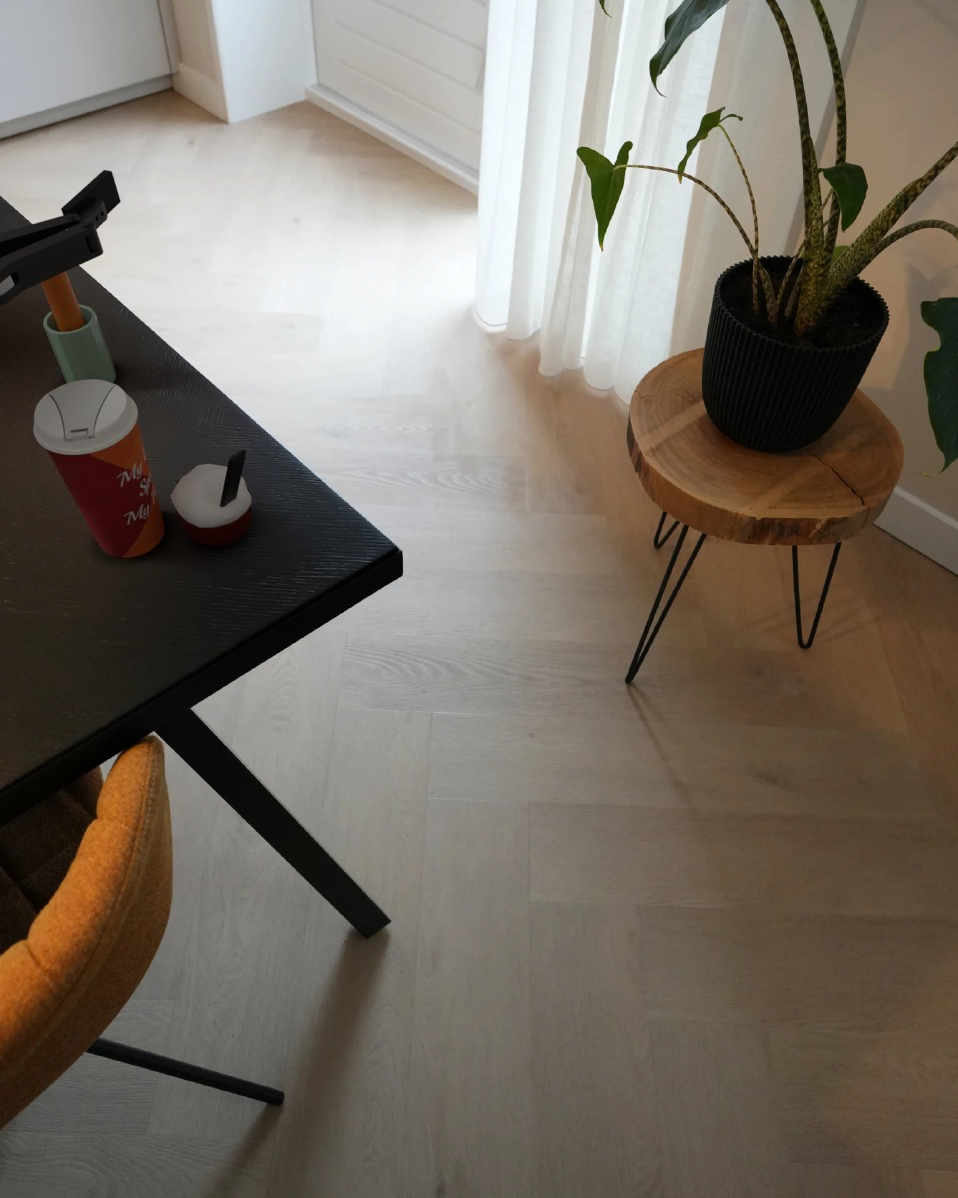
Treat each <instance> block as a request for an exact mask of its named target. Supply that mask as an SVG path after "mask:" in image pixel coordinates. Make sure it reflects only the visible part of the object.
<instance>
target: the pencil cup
mask: <svg viewBox="0 0 958 1198" xmlns="http://www.w3.org/2000/svg"><path fill="white" fill-rule="evenodd" d="M78 305H79V308H80V311H81V313H82V316H83V319H84V322H85V324H86V325H85V326H83V327H82V328H80V329H77V330H74V331H70V332H60V330H59V328H58V325H57V322H56V320H55V317H54V315H53V312H52V310H51V311H50V312H48V313H47V314H46V315H45V316H44V318H43V322H42V323H43V324H42V327H43V330H44V331H45V334H46V336H47V338H48V341H49V343H50V346H51V349H52V351H53V353H54V356H55V358H56V361H57V363H58V365H59V368H60V370H61V373H62V376H63V379H64V380H65V382H66V384H67V383H70V382H74V381H80V380H88V379H97V380H103V381H107V382H110V383H113V384H114V382H115V380H116V378H117V373H116V370H115V365H114V362H113V359H112V357H111V354H110V351H109V348H108V345H107V343H106V340H105V337H104V334H103V331H102V329H101V325H100V323H99V320H98V317H97V315H96V312H95V310H94V309H92V308H91V307H90V306H87V305H85V304H84V305H83V304H79V303H78Z"/></svg>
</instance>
